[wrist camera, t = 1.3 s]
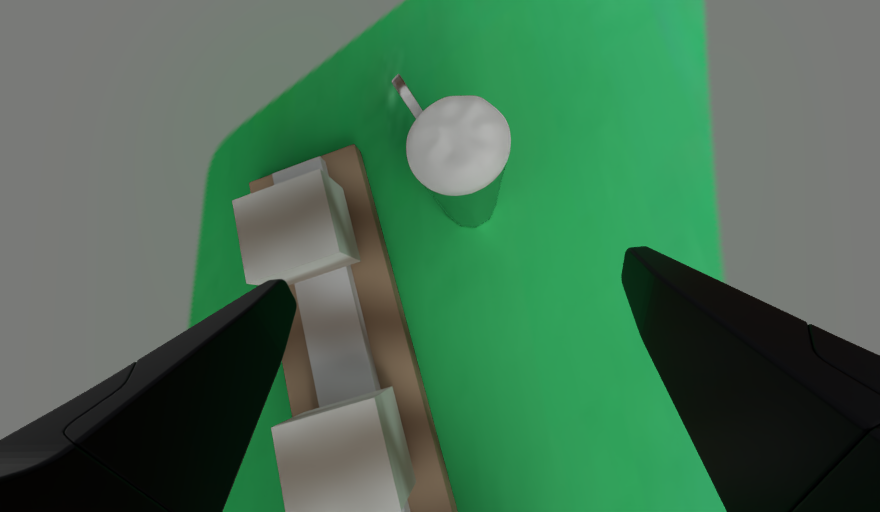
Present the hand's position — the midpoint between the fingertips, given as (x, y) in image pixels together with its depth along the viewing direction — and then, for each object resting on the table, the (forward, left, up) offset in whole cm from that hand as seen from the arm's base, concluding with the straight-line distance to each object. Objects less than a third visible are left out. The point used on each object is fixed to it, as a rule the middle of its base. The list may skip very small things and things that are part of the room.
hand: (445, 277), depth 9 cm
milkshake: (+7, -1, -13) cm, 15 cm away
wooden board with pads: (+1, +9, -13) cm, 15 cm away
